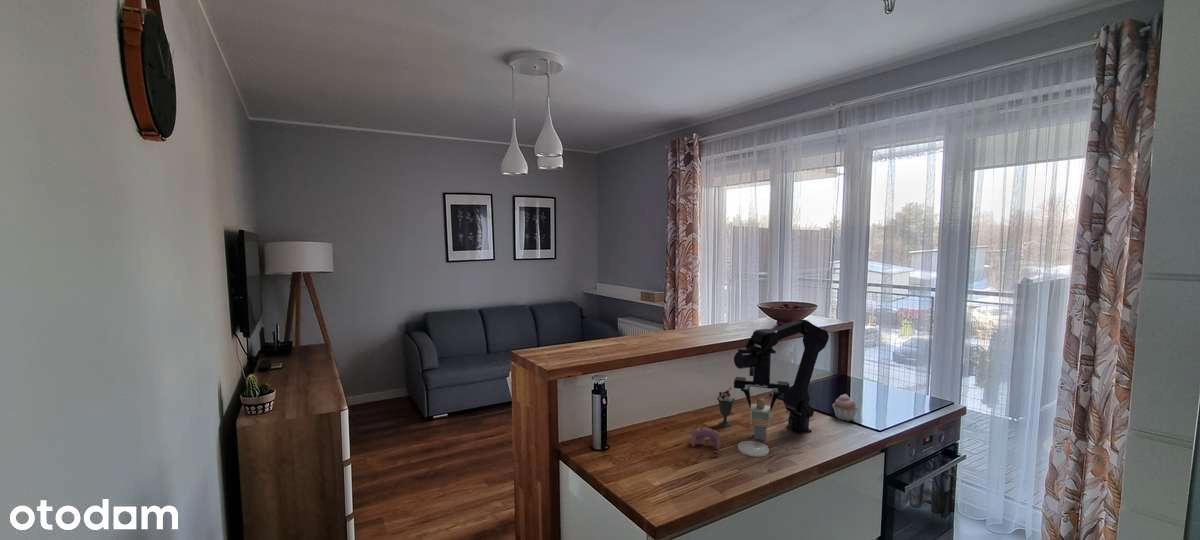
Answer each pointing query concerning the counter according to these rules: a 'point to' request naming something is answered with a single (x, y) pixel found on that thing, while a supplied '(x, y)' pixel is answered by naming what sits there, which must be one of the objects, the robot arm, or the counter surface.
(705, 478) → the counter surface
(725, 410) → the sundae
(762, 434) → the slate cube
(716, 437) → the video game controller
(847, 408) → the cupcake
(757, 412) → the sage camera
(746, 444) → the saucer
